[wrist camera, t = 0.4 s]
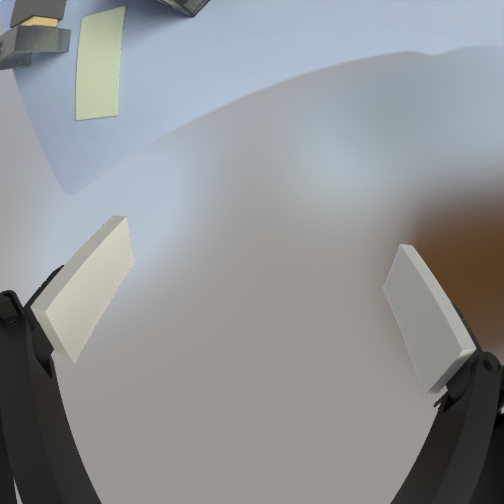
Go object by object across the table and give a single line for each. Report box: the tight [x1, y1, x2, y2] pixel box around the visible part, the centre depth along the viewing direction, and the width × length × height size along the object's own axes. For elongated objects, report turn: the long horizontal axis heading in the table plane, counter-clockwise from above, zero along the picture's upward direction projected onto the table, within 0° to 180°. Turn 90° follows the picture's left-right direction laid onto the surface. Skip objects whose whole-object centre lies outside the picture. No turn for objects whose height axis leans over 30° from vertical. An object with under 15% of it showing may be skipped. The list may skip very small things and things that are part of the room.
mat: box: [76, 6, 127, 120], centre depth 28 cm, size 18×8×1 cm, turn 175°
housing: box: [0, 25, 71, 70], centre depth 20 cm, size 4×11×13 cm, turn 85°
